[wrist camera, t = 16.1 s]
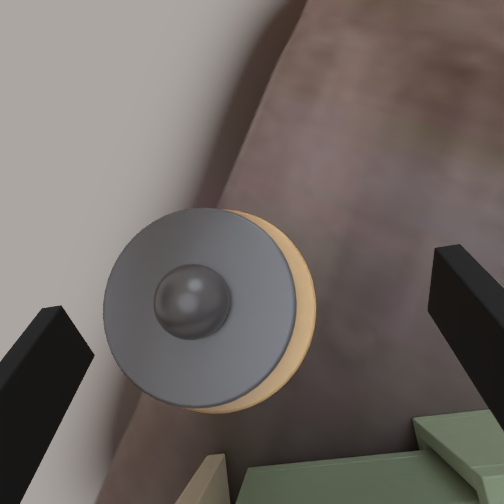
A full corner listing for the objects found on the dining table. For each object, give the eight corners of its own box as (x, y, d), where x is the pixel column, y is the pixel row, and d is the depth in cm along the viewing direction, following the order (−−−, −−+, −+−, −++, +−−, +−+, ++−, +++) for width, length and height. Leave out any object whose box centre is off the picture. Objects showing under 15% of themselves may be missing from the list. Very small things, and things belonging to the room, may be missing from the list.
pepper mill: (297, 271, 24) (296, 142, 7) (311, 348, 23) (352, 438, 5) (224, 282, 24) (47, 193, 7) (233, 359, 23) (50, 471, 6)
